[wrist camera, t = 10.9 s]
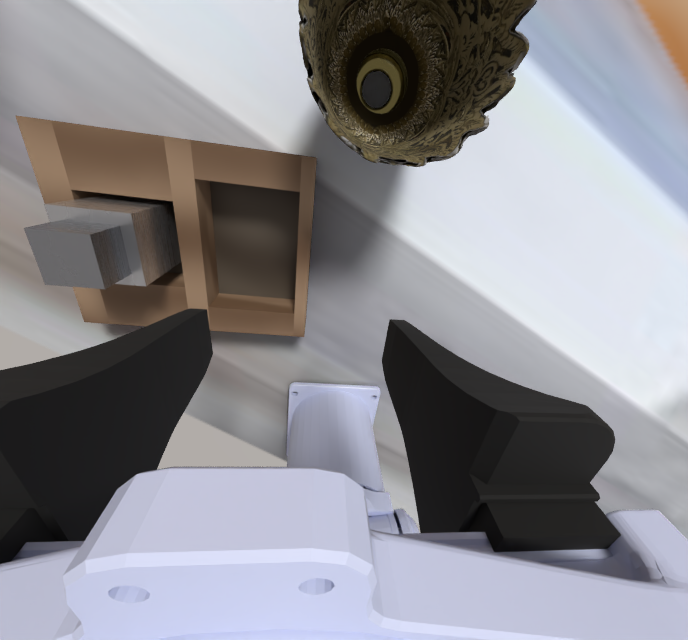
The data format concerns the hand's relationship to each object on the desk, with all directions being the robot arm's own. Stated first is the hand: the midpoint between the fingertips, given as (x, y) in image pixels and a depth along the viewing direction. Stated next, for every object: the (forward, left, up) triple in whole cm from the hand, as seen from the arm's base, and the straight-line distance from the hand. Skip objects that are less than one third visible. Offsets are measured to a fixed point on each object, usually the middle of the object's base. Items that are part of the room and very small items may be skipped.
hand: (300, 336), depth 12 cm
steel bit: (+1, +10, -10) cm, 14 cm away
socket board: (+1, +7, -10) cm, 12 cm away
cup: (+10, -3, -10) cm, 15 cm away
